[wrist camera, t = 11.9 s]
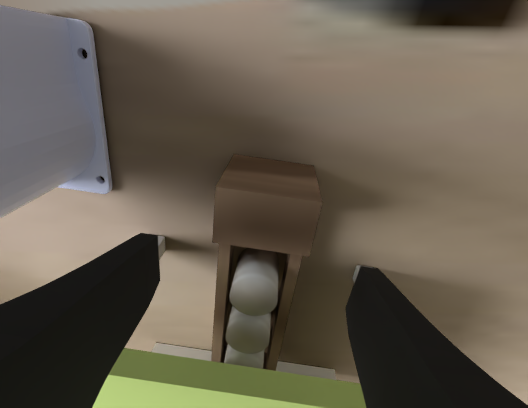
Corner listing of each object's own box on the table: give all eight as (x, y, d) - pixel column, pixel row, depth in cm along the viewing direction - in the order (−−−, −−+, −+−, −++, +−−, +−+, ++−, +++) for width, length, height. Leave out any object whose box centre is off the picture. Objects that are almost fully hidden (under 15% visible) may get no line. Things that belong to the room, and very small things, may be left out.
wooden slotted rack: (232, 153, 17) (213, 186, 13) (315, 165, 17) (324, 202, 13) (217, 342, 25) (202, 403, 20) (274, 350, 25) (271, 414, 20)
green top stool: (148, 234, 20) (43, 364, 11) (373, 267, 20) (439, 425, 11) (155, 347, 26) (88, 493, 17) (333, 373, 25) (356, 534, 17)
